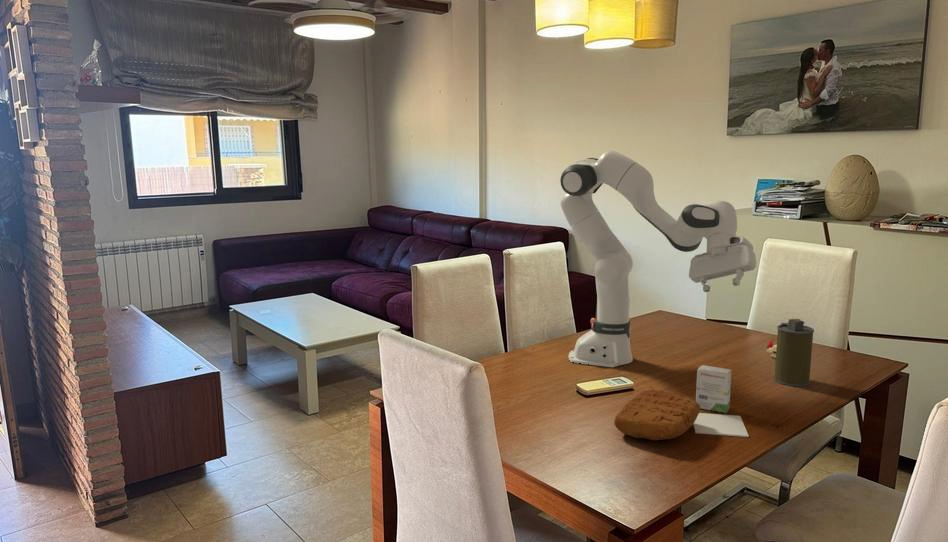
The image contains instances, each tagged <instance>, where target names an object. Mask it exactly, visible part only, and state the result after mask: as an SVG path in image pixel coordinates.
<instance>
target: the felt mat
mask: <svg viewBox="0 0 948 542" xmlns="http://www.w3.org/2000/svg"><path fill="white" fill-rule="evenodd" d="M692 426H693V430H694V433H695V434H702V435H714V436H715V435H716V436H728V437H730V436H731V437H738V438H739V437H741V438H749V436H750V435H749V433H748V431H747V428H746V427H745V424H744V422H743V418H742V417H741V415H731V414H721V413H720V414H718V413H717V414H715V413H706V412H705V413H703V412H699V414H698V416H697V418H696V420H695V422H694V423H693V425H692Z"/></svg>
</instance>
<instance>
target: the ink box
mask: <svg viewBox="0 0 948 542" xmlns="http://www.w3.org/2000/svg"><path fill="white" fill-rule="evenodd" d="M731 383H732V369H729V368H723V367H715V366H711V365H703V364H701V365H700V366H699V367H698V369H697V371H696V388H695V389H696V391H695V393H696V394H695V401H696V402H697V404H699V405H700V410H707V411H711V410H712V412H716V411H718V412H717V413H721V412H723V414H727V413H728V412H729V409H730V407H731V405H730V403H731V389H732V387H731V385H732V384H731ZM727 411H728V412H727Z"/></svg>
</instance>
